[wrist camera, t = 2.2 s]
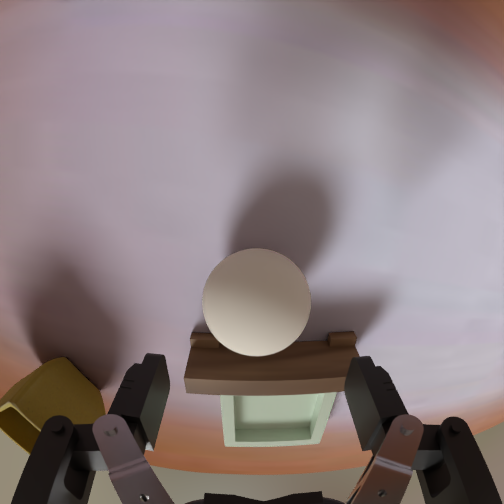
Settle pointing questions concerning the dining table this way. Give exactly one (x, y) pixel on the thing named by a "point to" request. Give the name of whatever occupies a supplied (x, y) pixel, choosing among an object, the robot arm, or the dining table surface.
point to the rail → (269, 367)
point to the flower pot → (48, 401)
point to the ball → (256, 302)
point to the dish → (275, 419)
